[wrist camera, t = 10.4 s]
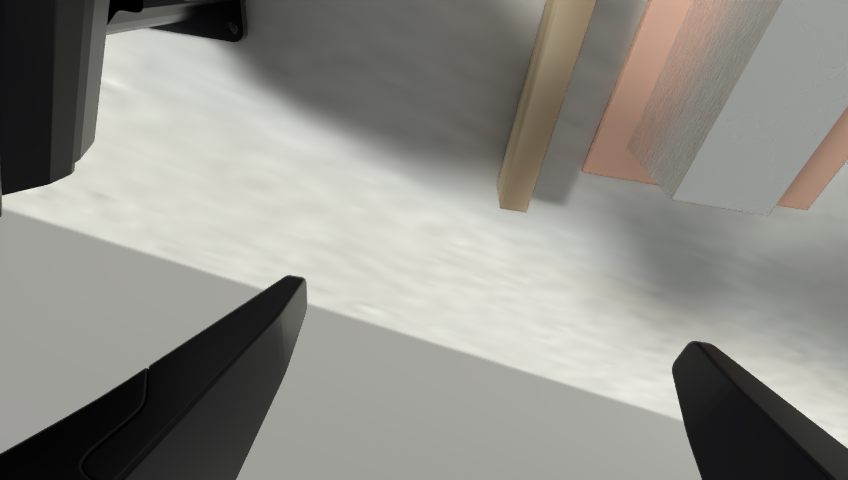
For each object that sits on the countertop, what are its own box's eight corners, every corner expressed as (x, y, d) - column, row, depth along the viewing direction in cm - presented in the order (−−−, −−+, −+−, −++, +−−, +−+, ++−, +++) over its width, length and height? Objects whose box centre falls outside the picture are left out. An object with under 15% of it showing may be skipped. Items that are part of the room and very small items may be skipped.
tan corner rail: (496, 184, 20) (500, 208, 18) (658, -416, 11) (706, -510, 8) (778, 231, 21) (812, 260, 18) (1199, -318, 11) (1377, -388, 9)
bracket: (757, -145, 13) (893, -199, 9) (999, -103, 13) (1250, -138, 9) (626, 148, 19) (672, 199, 14) (796, 177, 19) (890, 236, 14)
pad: (581, 169, 20) (583, 172, 19) (734, -218, 12) (740, -222, 12) (802, 206, 20) (806, 210, 19) (1085, -157, 12) (1098, -160, 12)
